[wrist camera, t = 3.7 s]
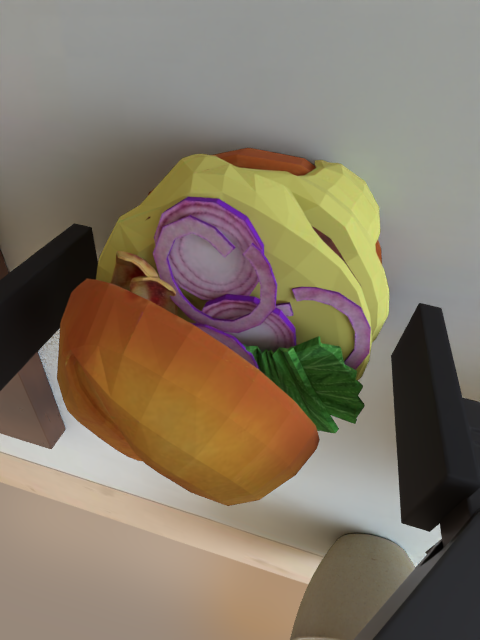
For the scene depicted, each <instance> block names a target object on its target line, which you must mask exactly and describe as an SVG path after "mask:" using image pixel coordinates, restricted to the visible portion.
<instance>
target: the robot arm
mask: <svg viewBox="0 0 480 640" xmlns="http://www.w3.org/2000/svg"><path fill="white" fill-rule="evenodd" d="M97 267H98V261H97V255H96V250H95V244H94V238H93V232H92V227H87V226H83V225H79V224H73V225H71V226H70V227H69V228H68V229H66V230H65V231H64V232H62V233H61V234H60V235H58V236H57V237H56V238H54V239H53V240H52V241H51V242H49V243H48V244H47V245H45V246H44V247H43V248H41V249H40V250H39V251H37V252H36V253H35V254H34V255H32V256H31V257H30V258H28V259H27V260H26V261H24V262H23V263H22V264H20V265H19V266H18V267H17V268H15V269H14V270H13V271H11V272H10V273H9V274H7V275H6V276H5V277H3V278H2V279H1V280H0V391H1V390H2V389H3V388H4V387H5V386H6V385H7V384H8V383H9V381H10V380H11V379H12V378H13V377H14V376H15V375H16V374H17V373H18V372H19V371H20V370H21V369H22V368H23V367H24V365H25V364H26V363H27V362H28V361H29V360H30V359H31V358H32V357H33V356H34V355H35V354H36V353H37V352H38V351H39V349H40V348H41V347H42V346H43V345H44V344H45V343H46V342H47V341H48V340H49V339H50V338H51V337H52V336H53V335H54V333H55V332H56V331H57V330H58V329H59V328H60V323H61V320H62V317H63V314H64V312H65V308H66V306H67V303H68V300H69V298H70V295H71V292H72V291H73V290H74V289H75V288H76V287H77V286H78V285H80V284H81V283H82V282H83V281H85V280H86V279H94V280H96V275H97ZM391 361H392V378H393V394H394V410H395V426H396V442H397V458H398V475H399V491H400V507H401V523H403V524H406V525H410V526H413V527H416V528H419V529H423V530H426V531H429V532H430V531H431V530H432V529H434V528H435V527H436V526H437V525H438V524H439V523H440V528H441V536H442V539H441V540H440V541H439V542H437V543H436V544H435V545H434V546H432V547H431V548H430V549H429V550H428V551H426V552H425V553H426V554H427V555H426V556H425V557H424V559H423V560H422V561H421V562H420V563H419V564H418V566H417V567H416V568H415V569H414V570H413V571H412V572H411V574H410V575H409V576H408V577H407V578H406V579H405V581H404V582H403V583H402V584H401V585H400V586H399V588H398V589H397V590H396V591H395V592H394V593H393V594H392V596H391V597H390V598H389V599H388V600H387V601H386V603H385V604H384V605H383V606H382V607H381V608H380V610H379V611H378V612H377V613H376V614H375V615H374V616H373V618H372V619H371V620H370V621H369V622H368V623H367V625H366V626H365V627H364V628H363V629H362V630H361V632H360V633H359V634H358V635H357V636H356V637H355V638H354V640H480V402H477V401H473V400H469V399H465V398H462V394H461V390H460V386H459V382H458V377H457V373H456V369H455V364H454V360H453V356H452V352H451V347H450V343H449V339H448V334H447V330H446V326H445V322H444V317H443V313H442V309H441V308H439V307H434V306H430V305H426V304H421V303H419V304H418V306H417V308H416V310H415V312H414V314H413V316H412V318H411V320H410V321H409V323H408V325H407V327H406V329H405V331H404V333H403V335H402V336H401V338H400V340H399V342H398V344H397V346H396V348H395V350H394V351H393V353H392V355H391Z"/></svg>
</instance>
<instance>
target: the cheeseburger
mask: <svg viewBox="0 0 480 640" xmlns="http://www.w3.org/2000/svg"><path fill="white" fill-rule="evenodd" d="M379 235H380V216H379V206H378V205H377V203H376V201H375V199H374V197H373V195H372V194H371V192H370V190H369V188H368V186H367V184H366V182H365V181H364V180H362V179H361V178H359V177H358V176H357V175H355V174H354V173H353V172H351V171H350V170H348V169H347V168H346V167H344V166H343V165H342V164H338V163H328V162H326V161H323V160H315V166H314V165H313V164H311V163H310V162H309V161H307V160H306V159H304V158H300V157H294V156H289V155H284V154H279V153H274V152H269V151H263V150H258V149H253V148H244V149H239V150H234V151H230V152H225V153H220V154H215V155H206V154H194V155H191V156H188V157H184V158H182V159H181V160H180V161H179V162H178V163H177V164H176V165H175V166H174V168H173V169H172V170H171V171H170V172H169V173H168V174H167V175H166V177H165V178H164V179H163V180H162V181H161V182H160V183H159V184H158V185H157V187H156V188H154V189H153V190H152V191H151V192H149V194H148V197H147V198H146V199H145V200H144V201H143V202H142V203H141V204H140V205H139V206H138V207H136V208H134V209H132V210H131V211H129V212H127V213H126V214H124V215H122V216H121V217H119V219H118V221H117V223H116V225H115V227H114V229H113V231H112V233H111V235H110V237H109V238H108V241H107V243H106V245H105V247H104V249H103V251H102V253H101V255H100V257H99V261H98V267H97V275H96V280H94V279H86V280H85V281H83V282H82V283H81V284H80V285H78V286H77V287H76V288H75V289H74V290H73V291H72V292H71V295H70V298H69V300H68V303H67V306H66V308H65V312H64V314H63V317H62V320H61V323H60V339H59V355H58V371H57V380H58V383H59V387H60V390H61V393H62V397H63V400H64V403H65V405H66V408H67V410H68V411H69V412H70V414H71V415H72V416H73V417H74V418H75V419H76V420H77V421H78V422H80V423H81V424H82V425H83V426H85V427H86V428H87V429H89V430H90V431H91V432H93V433H94V434H95V435H97V436H98V437H99V438H101V439H102V440H103V441H104V442H106V443H107V444H109V445H110V446H112V447H113V448H115V449H116V450H118V451H119V452H121V453H123V454H124V455H126V456H128V457H130V458H133V459H136V460H138V461H143V462H144V463H145V464H147V465H148V466H150V467H151V468H152V469H154V470H155V471H157V472H158V473H160V474H161V475H163V476H165V477H166V478H168V479H170V480H171V481H173V482H175V483H176V484H178V485H180V486H181V487H183V488H185V489H186V490H188V491H189V492H191V493H194V494H196V495H199V496H202V497H205V498H207V499H210V500H213V501H216V502H218V503H221V504H224V505H227V506H230V505H235V504H240V503H246V502H251V501H256V500H260V499H261V498H263V497H264V496H266V495H267V494H269V493H270V492H271V491H273V490H274V489H276V488H277V487H279V486H280V485H282V484H283V483H285V482H286V481H288V480H289V479H290V478H292V477H293V476H295V475H296V474H297V472H298V471H299V470H300V469H301V468H302V466H303V465H304V464H305V463H306V461H307V460H308V459H309V458H310V457H311V455H312V454H313V453H314V452H315V450H316V449H317V446H318V443H319V440H320V439H319V436H318V432H317V431H325V432H330V433H336V432H337V431H338V429H339V428H338V427H337V425H336V423H335V422H334V420H333V419H332V417H331V415H332V416H335V417H337V418H340V419H343V420H346V421H348V422H351V423H354V424H355V423H356V421H357V419H356V418H357V416H358V415H359V414H360V412H361V411H362V409H363V408H364V403H363V402H362V400H361V399H360V398H359V396H358V395H359V393H360V391H361V389H362V388H363V385H362V384H361V383H360V382H358V380H359V379H360V378H361V377H362V375H363V373H364V371H365V368H366V366H367V364H368V362H369V358H370V351H371V345H372V342H373V341H374V340H375V339H376V338H377V336H378V334H379V332H380V330H381V328H382V326H383V324H384V322H385V321H386V319H387V316H388V314H389V287H388V283H387V279H386V275H385V271H384V269H383V267H382V258H381V247H380V244H379V241H378V238H379Z"/></svg>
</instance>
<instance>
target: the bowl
mask: <svg viewBox="0 0 480 640" xmlns="http://www.w3.org/2000/svg"><path fill="white" fill-rule="evenodd" d="M414 569H415V566H414V565H413V563H412V561H411V560H410V558H409V557H408V555H407V554H406V552H405V551H404V550H403V549H402V548H401V547H400V546H398V545H397V544H395V543H393V542H391V541H389V540H387V539H384V538H381V537H378V536H373V535H368V534H348V535H344V536H342V537H340V538H339V539H338V540H337V541H336V542H335V543H334V544H333V546H332V547H331V548H330V549H329V551H328V552H327V554H326V555H325V556H324V558H323V559H322V561H321V563H320V564H319V566H318V568H317V569H316V571H315V573H314V575H313V577H312V579H311V581H310V583H309V585H308V587H307V589H306V591H305V594H304V596H303V599H302V601H301V604H300V607H299V610H298V613H297V616H296V620H295V623H294V626H293V631H292V634H291V638H290V640H354V638H355V637H356V636H357V635H358V634H359V633H360V632H361V630H362V629H363V628H364V627H365V626H366V625H367V623H368V622H369V621H370V620H371V619H372V618H373V616H374V615H375V614H376V613H377V612H378V611H379V610H380V608H381V607H382V606H383V605H384V604H385V603H386V601H387V600H388V599H389V598H390V597H391V596H392V594H393V593H394V592H395V591H396V590H397V589H398V588H399V586H400V585H401V584H402V583H403V582H404V581H405V579H406V578H407V577H408V576H409V575H410V574H411V572H412V571H413V570H414Z"/></svg>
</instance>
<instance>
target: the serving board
mask: <svg viewBox="0 0 480 640" xmlns="http://www.w3.org/2000/svg"><path fill="white" fill-rule="evenodd" d="M7 274H9V272H8V269H7V267H6V264H5V261H4V258H3V256H2V253H1V250H0V280H1V279H2V278H3V277H5V276H6V275H7ZM64 431H65V426H64V423H63V421H62V418H61V415H60V412H59V410H58V407H57V404H56V401H55V399H54V396H53V393H52V390H51V388H50V385H49V382H48V379H47V377H46V374H45V371H44V368H43V366H42V363H41V360H40V357H39V355H38V352H37V353H36V354H35V355H34V356H33V357H32V358H31V359H30V360H29V361H28V362H27V363H26V364H25V365H24V367H23V368H22V369H21V370H20V371H19V372H18V373H17V374H16V375H15V376H14V377H13V378H12V379H11V380H10V381H9V383H8V384H7V385H6V386H5V387H4V388H3V389H2V390H1V391H0V433H1V434H4V435H7V436H11V437H14V438H17V439H20V440H23V441H26V442H30V443H33V444H36V445H39V446H42V447H45V448H49V449H52V448H53V447H54V445H55V444H56V442H57V441H58V439H59V438H60V437H61V435H62V434H63V432H64Z"/></svg>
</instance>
